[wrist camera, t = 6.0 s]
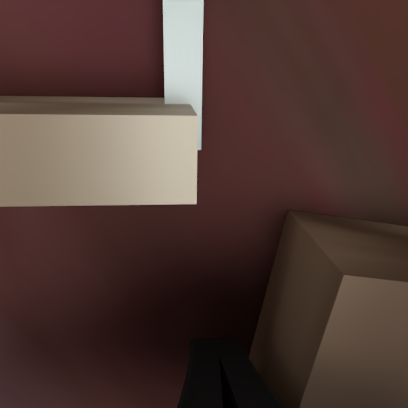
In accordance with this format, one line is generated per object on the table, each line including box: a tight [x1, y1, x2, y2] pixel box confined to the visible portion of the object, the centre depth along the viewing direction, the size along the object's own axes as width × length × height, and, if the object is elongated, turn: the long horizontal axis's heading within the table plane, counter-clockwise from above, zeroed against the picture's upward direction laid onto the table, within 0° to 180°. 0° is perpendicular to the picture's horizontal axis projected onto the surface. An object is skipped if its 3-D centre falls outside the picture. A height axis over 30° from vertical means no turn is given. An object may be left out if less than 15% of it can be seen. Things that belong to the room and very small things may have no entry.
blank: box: [249, 210, 408, 408], centre depth 11 cm, size 4×10×4 cm, turn 170°
